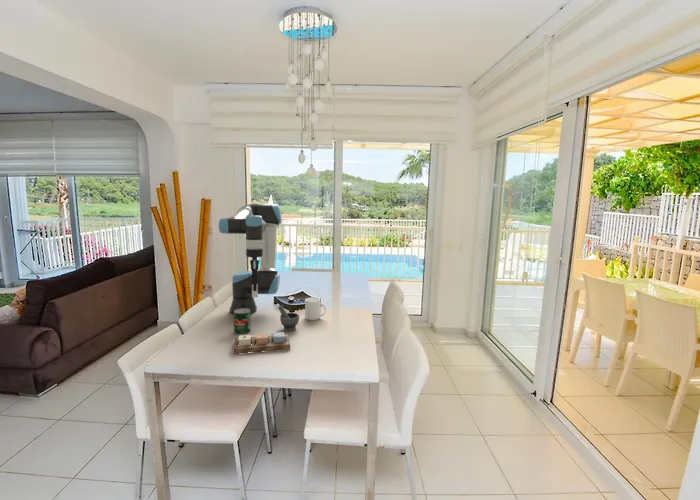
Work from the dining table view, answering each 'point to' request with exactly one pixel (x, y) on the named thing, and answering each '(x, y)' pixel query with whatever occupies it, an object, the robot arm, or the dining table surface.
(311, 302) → the mug
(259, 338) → the button block
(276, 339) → the button block
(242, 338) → the button block
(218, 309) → the dining table surface
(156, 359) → the dining table surface
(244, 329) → the canned tomato
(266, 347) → the button board
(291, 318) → the mortar and pestle
